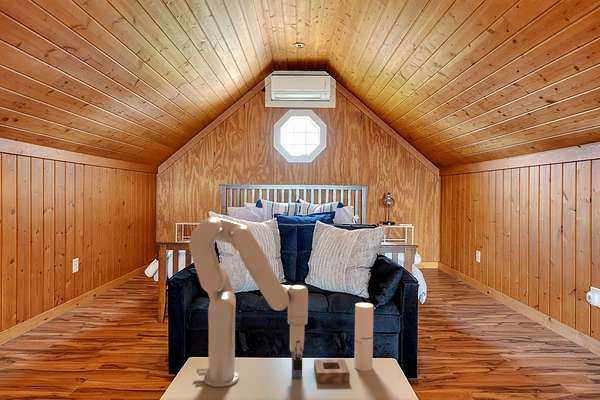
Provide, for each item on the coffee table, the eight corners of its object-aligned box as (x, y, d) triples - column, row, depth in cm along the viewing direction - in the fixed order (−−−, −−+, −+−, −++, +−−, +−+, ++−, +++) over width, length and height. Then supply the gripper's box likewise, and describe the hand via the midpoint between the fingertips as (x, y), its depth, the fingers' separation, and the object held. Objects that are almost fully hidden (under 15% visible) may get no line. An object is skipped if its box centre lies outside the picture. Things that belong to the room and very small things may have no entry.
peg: (291, 379, 156) (292, 347, 156) (291, 374, 160) (291, 343, 160) (302, 378, 157) (302, 347, 156) (301, 374, 161) (302, 343, 160)
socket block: (316, 383, 153) (317, 372, 153) (313, 369, 165) (314, 359, 165) (349, 383, 153) (349, 372, 153) (344, 369, 165) (344, 359, 165)
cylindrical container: (372, 371, 164) (373, 308, 163) (353, 369, 165) (354, 306, 165) (372, 364, 171) (373, 303, 170) (354, 362, 172) (355, 302, 172)
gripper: (287, 312, 166) (286, 356, 167) (288, 326, 149) (287, 375, 149) (306, 312, 167) (305, 356, 167) (309, 326, 149) (308, 375, 150)
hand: (297, 365), depth 158 cm, fingers open, 7 cm apart
